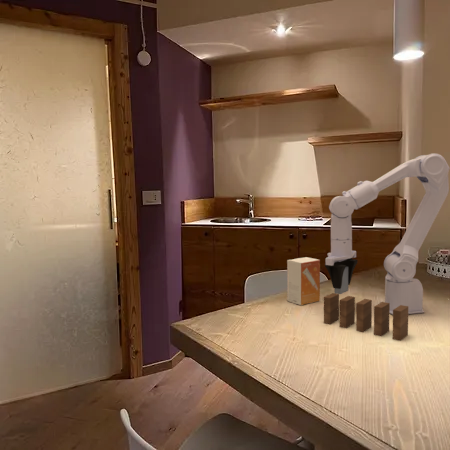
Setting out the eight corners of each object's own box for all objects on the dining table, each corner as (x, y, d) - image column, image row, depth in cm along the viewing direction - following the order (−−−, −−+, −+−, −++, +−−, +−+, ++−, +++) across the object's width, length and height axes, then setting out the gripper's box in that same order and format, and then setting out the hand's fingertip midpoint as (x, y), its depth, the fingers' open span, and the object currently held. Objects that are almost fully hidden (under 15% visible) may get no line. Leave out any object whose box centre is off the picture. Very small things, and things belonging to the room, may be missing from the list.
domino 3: (371, 326, 109) (371, 299, 108) (363, 332, 105) (363, 304, 105) (364, 325, 110) (364, 298, 109) (356, 330, 107) (356, 303, 106)
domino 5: (407, 334, 103) (408, 306, 102) (400, 340, 99) (400, 311, 99) (400, 333, 104) (400, 305, 103) (392, 339, 101) (392, 309, 100)
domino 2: (354, 323, 112) (354, 297, 111) (346, 328, 108) (346, 301, 108) (348, 321, 113) (348, 295, 112) (339, 326, 110) (339, 300, 109)
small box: (301, 305, 128) (300, 262, 127) (286, 301, 133) (286, 259, 132) (320, 301, 133) (320, 259, 131) (306, 296, 138) (305, 256, 136)
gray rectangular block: (348, 290, 124) (348, 266, 123) (340, 294, 120) (340, 269, 120) (342, 289, 125) (342, 265, 124) (334, 293, 122) (334, 268, 121)
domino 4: (389, 330, 106) (389, 303, 105) (381, 336, 102) (381, 307, 102) (381, 329, 107) (382, 301, 106) (373, 334, 104) (374, 306, 103)
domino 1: (338, 319, 115) (338, 294, 114) (329, 324, 111) (329, 298, 111) (332, 318, 116) (332, 293, 115) (323, 323, 113) (323, 297, 112)
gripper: (340, 234, 129) (340, 279, 131) (315, 241, 118) (316, 289, 120) (362, 236, 124) (363, 282, 126) (338, 243, 114) (339, 293, 115)
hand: (341, 286), depth 123 cm, fingers closed on gray rectangular block, 5 cm apart
